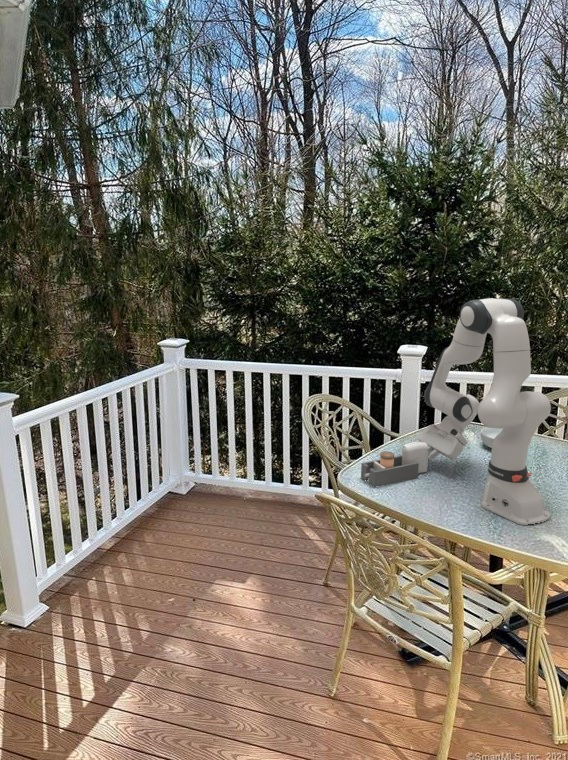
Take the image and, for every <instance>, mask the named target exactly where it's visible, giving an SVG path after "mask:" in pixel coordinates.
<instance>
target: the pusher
mask: <svg viewBox="0 0 568 760" xmlns="http://www.w3.org/2000/svg"><path fill="white" fill-rule="evenodd" d="M373 469H374V470H375V471H377V470H382V469H386V468H385V467H383V466H382V465H380V464H379V463H377V462H376V461H375V462H374V463H373ZM365 477H368V478H369V473H367V474H365Z"/></svg>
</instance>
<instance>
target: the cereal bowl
mask: <svg viewBox="0 0 568 760" xmlns="http://www.w3.org/2000/svg"><path fill="white" fill-rule="evenodd" d="M502 430H503V429H498V428H488V427H486V426H484V427H483V428H482V429H481V430H480V438H481V441H482V442H483V445H485V446H486V447H489V448H490V449H492V443H493V440H494V438H495V437H496V436H497V435H498V434H499V433H500V432H501V431H502Z"/></svg>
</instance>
